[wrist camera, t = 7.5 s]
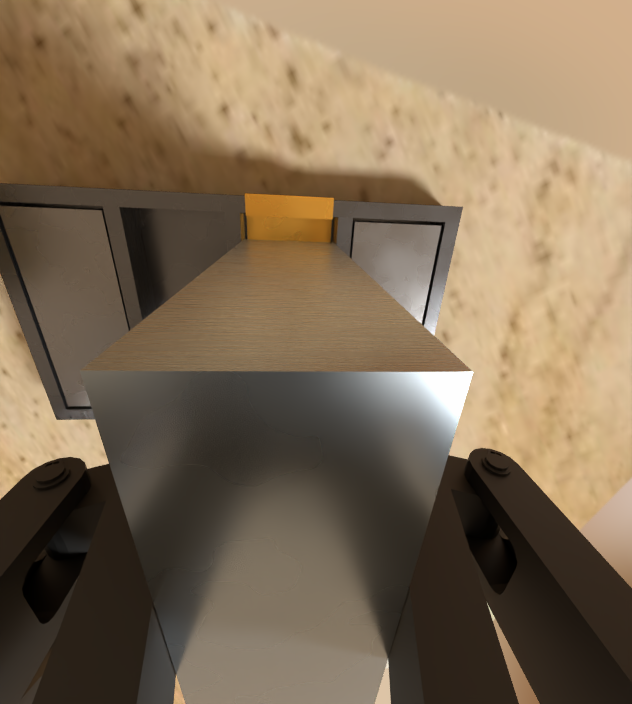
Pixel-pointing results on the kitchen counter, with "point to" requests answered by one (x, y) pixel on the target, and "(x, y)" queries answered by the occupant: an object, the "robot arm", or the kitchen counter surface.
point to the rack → (182, 260)
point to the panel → (278, 469)
